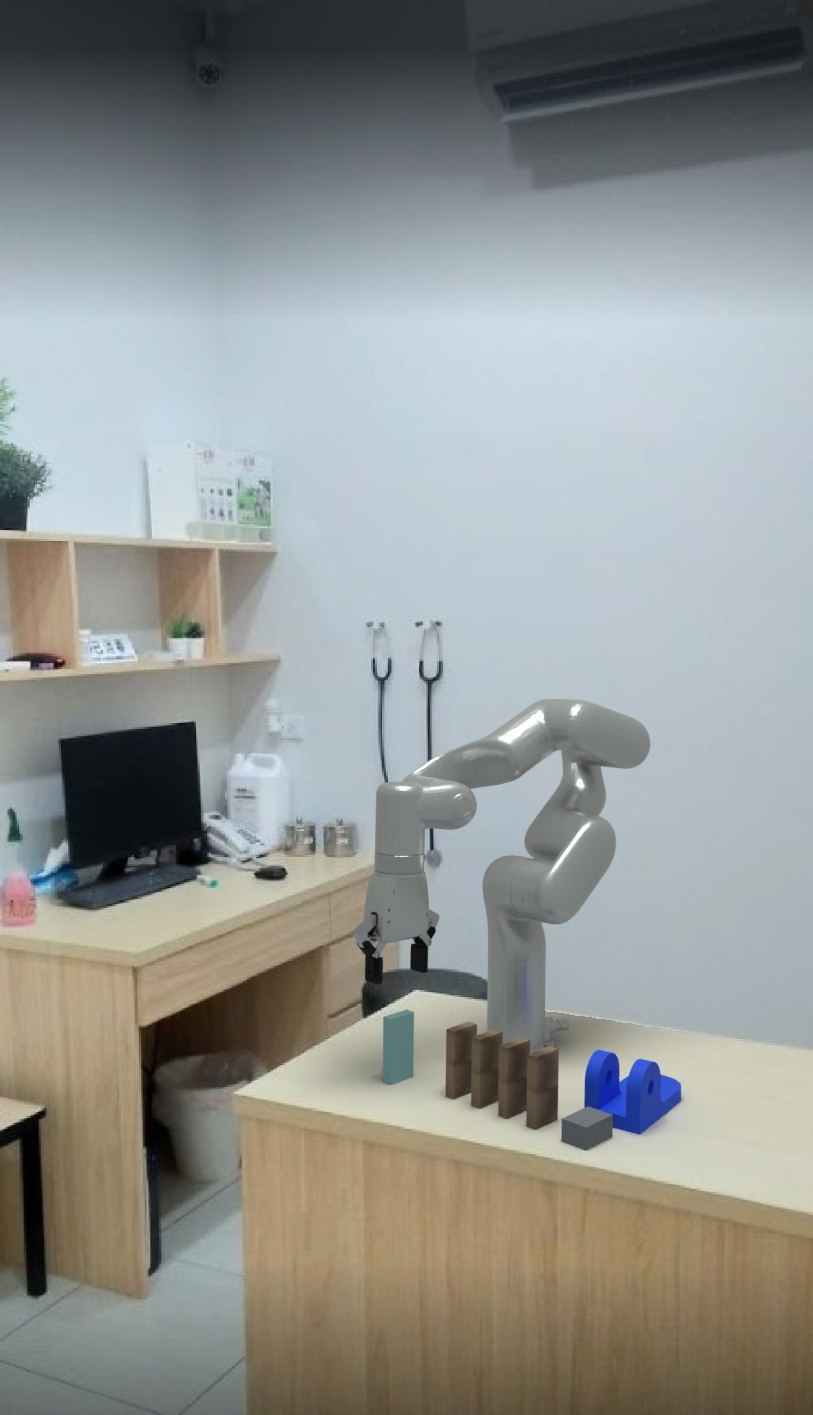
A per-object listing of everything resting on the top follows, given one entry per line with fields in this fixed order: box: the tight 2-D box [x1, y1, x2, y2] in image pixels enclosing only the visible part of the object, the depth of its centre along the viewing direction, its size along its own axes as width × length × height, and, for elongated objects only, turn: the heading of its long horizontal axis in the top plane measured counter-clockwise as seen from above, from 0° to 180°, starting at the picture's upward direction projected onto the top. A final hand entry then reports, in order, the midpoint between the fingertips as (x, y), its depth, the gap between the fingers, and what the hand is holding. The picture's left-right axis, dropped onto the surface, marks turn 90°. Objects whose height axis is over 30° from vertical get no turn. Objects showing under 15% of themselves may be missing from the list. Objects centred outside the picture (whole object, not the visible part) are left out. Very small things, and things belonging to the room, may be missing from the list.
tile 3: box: [470, 1029, 503, 1110], centre depth 164 cm, size 5×2×10 cm, turn 136°
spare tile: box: [382, 1009, 415, 1086], centre depth 173 cm, size 5×2×10 cm, turn 136°
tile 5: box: [525, 1046, 560, 1131], centre depth 157 cm, size 5×2×10 cm, turn 136°
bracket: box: [583, 1049, 682, 1136], centre depth 164 cm, size 18×8×9 cm, turn 145°
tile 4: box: [497, 1037, 530, 1120], centre depth 161 cm, size 5×2×10 cm, turn 136°
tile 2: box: [444, 1021, 478, 1101], centre depth 168 cm, size 5×2×10 cm, turn 136°
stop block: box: [560, 1106, 614, 1151], centre depth 152 cm, size 6×4×3 cm, turn 136°
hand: (396, 976), depth 173 cm, fingers open, 9 cm apart
